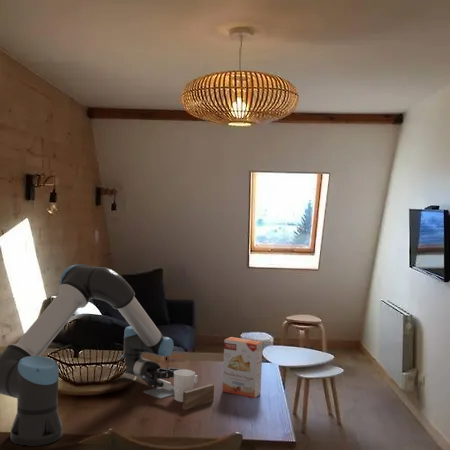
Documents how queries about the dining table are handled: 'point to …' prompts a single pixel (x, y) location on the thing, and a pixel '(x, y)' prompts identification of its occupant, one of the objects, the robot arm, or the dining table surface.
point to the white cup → (183, 383)
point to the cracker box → (242, 367)
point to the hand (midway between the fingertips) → (184, 382)
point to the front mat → (160, 392)
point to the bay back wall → (198, 396)
